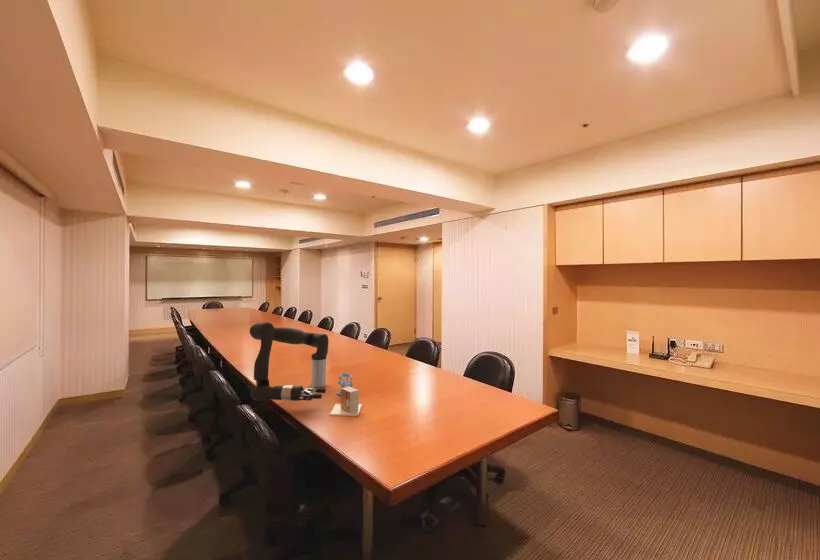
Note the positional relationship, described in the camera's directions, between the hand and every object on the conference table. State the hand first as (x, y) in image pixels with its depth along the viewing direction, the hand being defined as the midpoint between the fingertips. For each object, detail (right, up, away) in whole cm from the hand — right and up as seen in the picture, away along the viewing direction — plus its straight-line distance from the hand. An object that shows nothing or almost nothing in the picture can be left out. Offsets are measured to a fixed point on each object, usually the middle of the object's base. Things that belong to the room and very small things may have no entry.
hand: (323, 393), depth 175 cm
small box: (+14, -8, -1) cm, 16 cm away
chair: (+7, -9, +24) cm, 27 cm away
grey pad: (+12, -9, 0) cm, 15 cm away
